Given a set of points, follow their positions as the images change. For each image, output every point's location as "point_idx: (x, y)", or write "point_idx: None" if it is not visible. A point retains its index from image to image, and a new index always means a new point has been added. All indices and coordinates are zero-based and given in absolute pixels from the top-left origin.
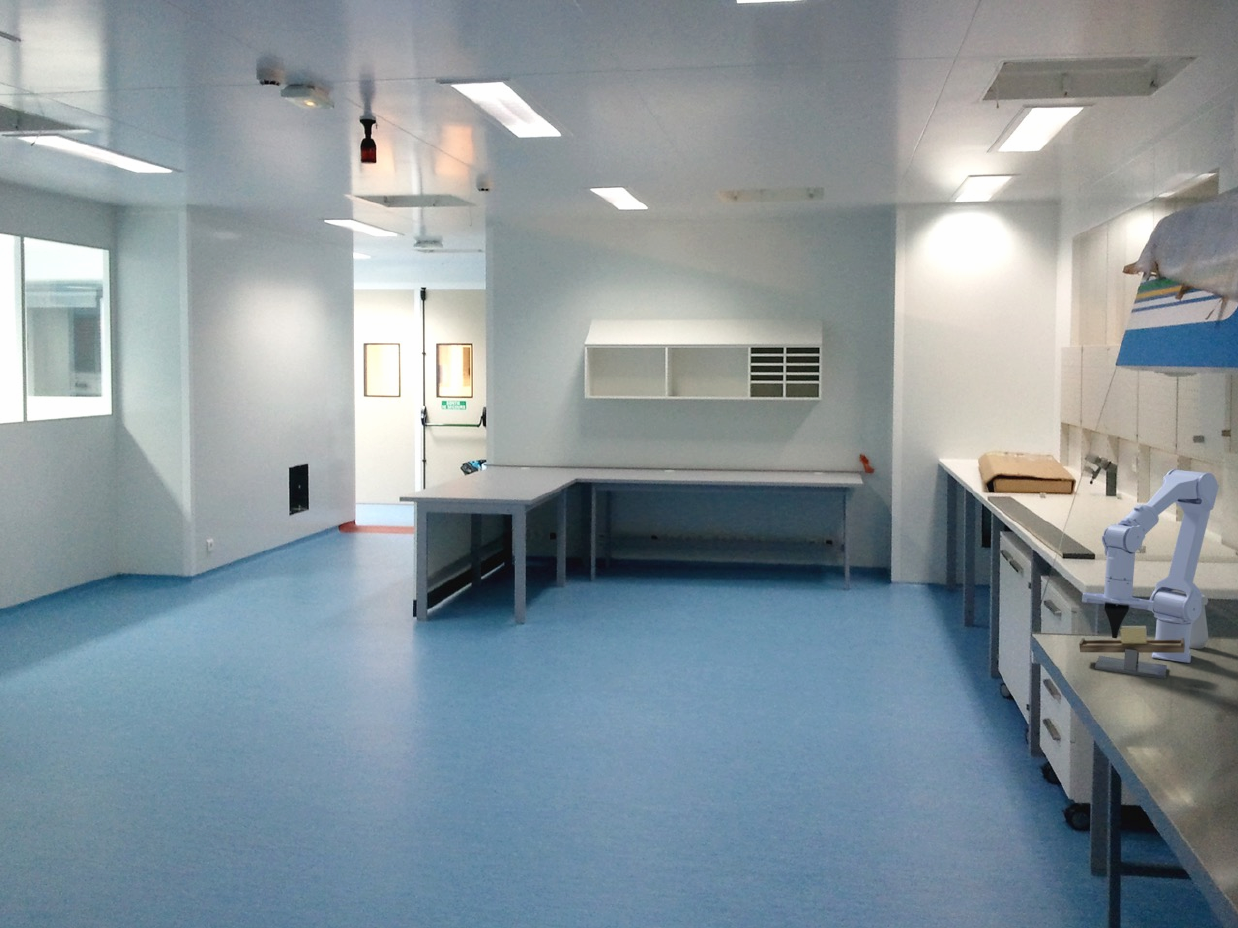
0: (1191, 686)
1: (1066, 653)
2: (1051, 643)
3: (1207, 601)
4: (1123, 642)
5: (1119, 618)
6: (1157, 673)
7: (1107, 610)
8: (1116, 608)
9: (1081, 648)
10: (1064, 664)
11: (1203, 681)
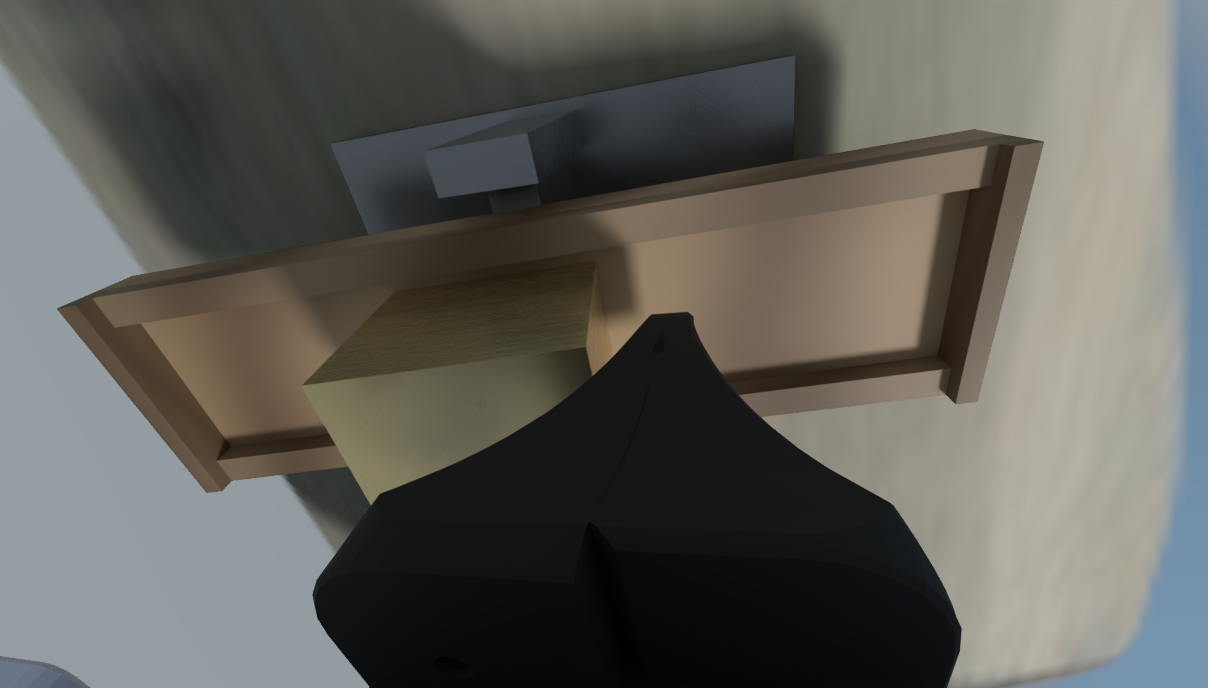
0: (180, 80)
1: (1007, 379)
2: (1086, 540)
3: None
4: (576, 279)
5: (563, 433)
6: (383, 170)
7: (833, 510)
8: (566, 600)
9: (981, 139)
10: (1075, 3)
11: (227, 255)
